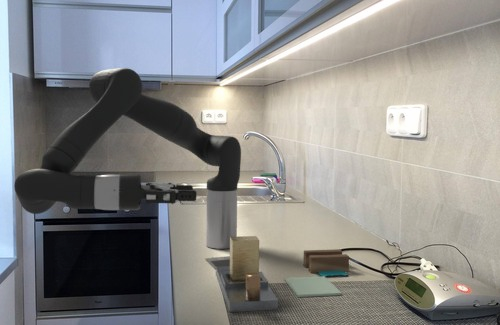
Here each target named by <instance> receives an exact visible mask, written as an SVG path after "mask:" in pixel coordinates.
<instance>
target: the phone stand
mask: <svg viewBox="0 0 500 325" xmlns="http://www.w3.org/2000/svg"><path fill="white" fill-rule="evenodd" d="M349 260H350V255H348V254H347V253H346V254H343V251H342V250H341V249H340V248H339V249H336V248H334V249H311V250H305V249H304V250H303V263H302V264H303V267H305V268H308V272H310V274H317V272H320V271H345V272H346V273H348V272H350V271H349V269H350V267H349V266H350V261H349Z"/></svg>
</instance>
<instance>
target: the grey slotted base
mask: <svg viewBox="0 0 500 325" xmlns="http://www.w3.org/2000/svg"><path fill="white" fill-rule="evenodd" d="M215 276H216V280H217V282H218V285H219V287H220V290H221V292H222V295H223V297H224V301H225V302H226V306H227V310H228V312H229V313H236V312H237V313H239V312H241V313H242V312H257V311H274V310H275V311H277V310H278V311H279V299H278V298H277V296H276V294H275V293H274V291H273V290H272V288H271V287H270V285H269V280H267V278H266V276H265V274H264V273H263V272H262V271H259V274H258V273H248V274H246V281H244V282H230V266H222V267H216V270H215Z"/></svg>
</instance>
